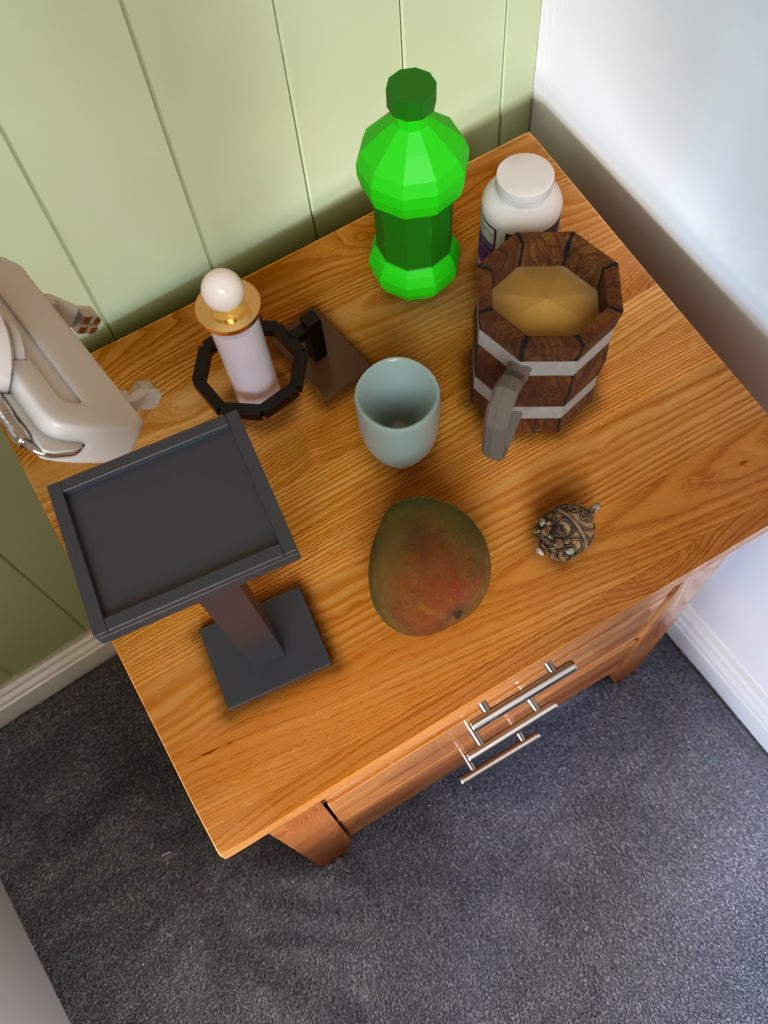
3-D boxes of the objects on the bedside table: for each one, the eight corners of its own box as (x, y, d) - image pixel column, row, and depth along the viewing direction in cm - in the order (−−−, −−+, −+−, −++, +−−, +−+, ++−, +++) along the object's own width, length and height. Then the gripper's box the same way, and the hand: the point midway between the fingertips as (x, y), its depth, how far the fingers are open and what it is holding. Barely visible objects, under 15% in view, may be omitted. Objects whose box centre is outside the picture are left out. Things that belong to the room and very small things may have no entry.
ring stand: (249, 465, 84) (234, 430, 77) (190, 395, 88) (170, 356, 81) (375, 374, 88) (370, 332, 81) (313, 310, 91) (303, 266, 84)
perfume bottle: (289, 422, 86) (252, 301, 68) (233, 426, 86) (181, 307, 68) (288, 374, 88) (252, 245, 70) (234, 378, 88) (183, 250, 70)
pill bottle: (561, 263, 92) (584, 161, 79) (526, 314, 90) (544, 219, 77) (497, 234, 94) (509, 130, 81) (462, 283, 92) (468, 185, 79)
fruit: (402, 666, 75) (398, 638, 66) (338, 553, 80) (327, 513, 71) (511, 605, 77) (523, 570, 68) (443, 498, 82) (445, 452, 73)
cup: (346, 446, 85) (336, 396, 75) (398, 397, 87) (394, 341, 77) (402, 493, 82) (399, 446, 73) (454, 441, 84) (458, 389, 75)
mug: (491, 310, 90) (503, 210, 76) (612, 349, 88) (646, 252, 74) (421, 460, 84) (420, 380, 70) (550, 507, 81) (575, 434, 67)
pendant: (517, 543, 80) (522, 523, 75) (575, 496, 81) (584, 473, 77) (553, 581, 78) (561, 564, 73) (612, 532, 80) (624, 512, 75)
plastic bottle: (433, 229, 95) (436, 26, 72) (477, 297, 91) (494, 105, 68) (354, 262, 94) (330, 66, 71) (394, 332, 90) (384, 148, 67)
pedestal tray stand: (223, 726, 74) (93, 637, 45) (187, 627, 78) (46, 485, 49) (347, 670, 76) (297, 549, 47) (306, 575, 79) (236, 408, 50)
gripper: (43, 422, 51) (211, 412, 62) (-100, 227, 58) (75, 249, 69) (13, 494, 55) (178, 472, 66) (-119, 301, 61) (51, 311, 73)
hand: (124, 356), depth 68 cm, fingers open, 8 cm apart
